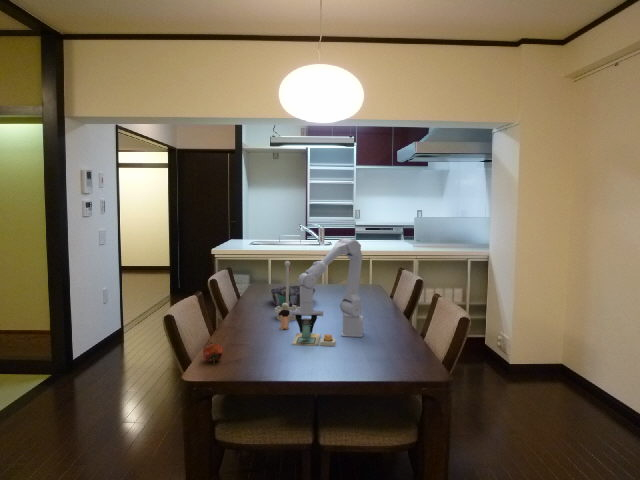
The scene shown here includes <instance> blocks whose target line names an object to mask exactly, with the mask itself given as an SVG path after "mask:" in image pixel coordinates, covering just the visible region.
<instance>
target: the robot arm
mask: <svg viewBox="0 0 640 480" xmlns="http://www.w3.org/2000/svg"><path fill="white" fill-rule="evenodd" d="M361 247H362V244H360V242H359V241H358V240H356V239H349V238H344V237H342V238H341V237H340V238H339V239H338V240H337V241H336V242H335V243H334V245H333V247H332V248H331V249H330V250H329V252H327V254H326V255H324V257H323V258H322V259H321V260H317V261H313V263H312V265H311V266H310V267H309V268H308V269H306V270H305V272H302V273H301V274H299V276H298V279H296V280H297V284H298V286H300V310H294V311H290V312H289V316H296V320H295V321H296V322H297V325H298V327H299V333H302V319H303V316H304V317H305V316H306V317H310V319H311V334H313V329H314V326H315V323H316V321H317V319H318V317H324V310H315V309H314V295H313V288H314V287H315V285H316V284H317V280H318V279H319V278H320V277H321V276H322V275H323V274H325V273H326V271H327V267H328V266H329V265H330V264H331V263H332V262H333V261H335V260H336V259H337V258H338V257H339V256H343V255H345V256H346V257H347V258H348V260H349V264H348V265H349V266H348V275H347V281H346V282H347V283H346V290H345V291H346V292H345V294H344V295H342V298H341V302H340V304H339V309H340V311H341V312H342V330H341V337H354V338H356V337H357V338H358V337H359V338H363V336H364V335H363V334H364V316H363V315H361V313H362V311H363V306H362V300H361V297H360V295H359V291H360V290H359V289H360V282H361V281H360V280H361V272H362V263H363V253H362V250H361V249H362V248H361Z"/></svg>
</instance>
